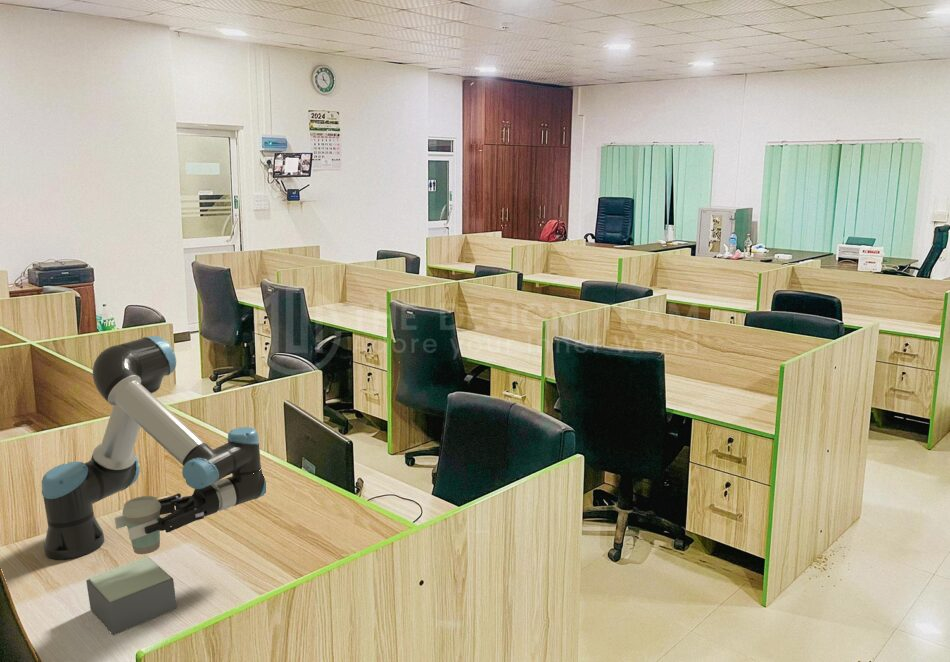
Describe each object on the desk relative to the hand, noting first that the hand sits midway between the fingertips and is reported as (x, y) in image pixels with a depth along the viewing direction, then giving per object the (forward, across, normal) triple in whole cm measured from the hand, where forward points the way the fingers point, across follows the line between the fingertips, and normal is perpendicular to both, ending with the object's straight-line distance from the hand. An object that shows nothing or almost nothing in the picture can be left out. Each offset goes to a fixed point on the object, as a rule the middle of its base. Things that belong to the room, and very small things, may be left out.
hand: (122, 528), depth 182 cm
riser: (0, +1, -22) cm, 22 cm away
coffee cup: (-5, 0, -7) cm, 9 cm away
